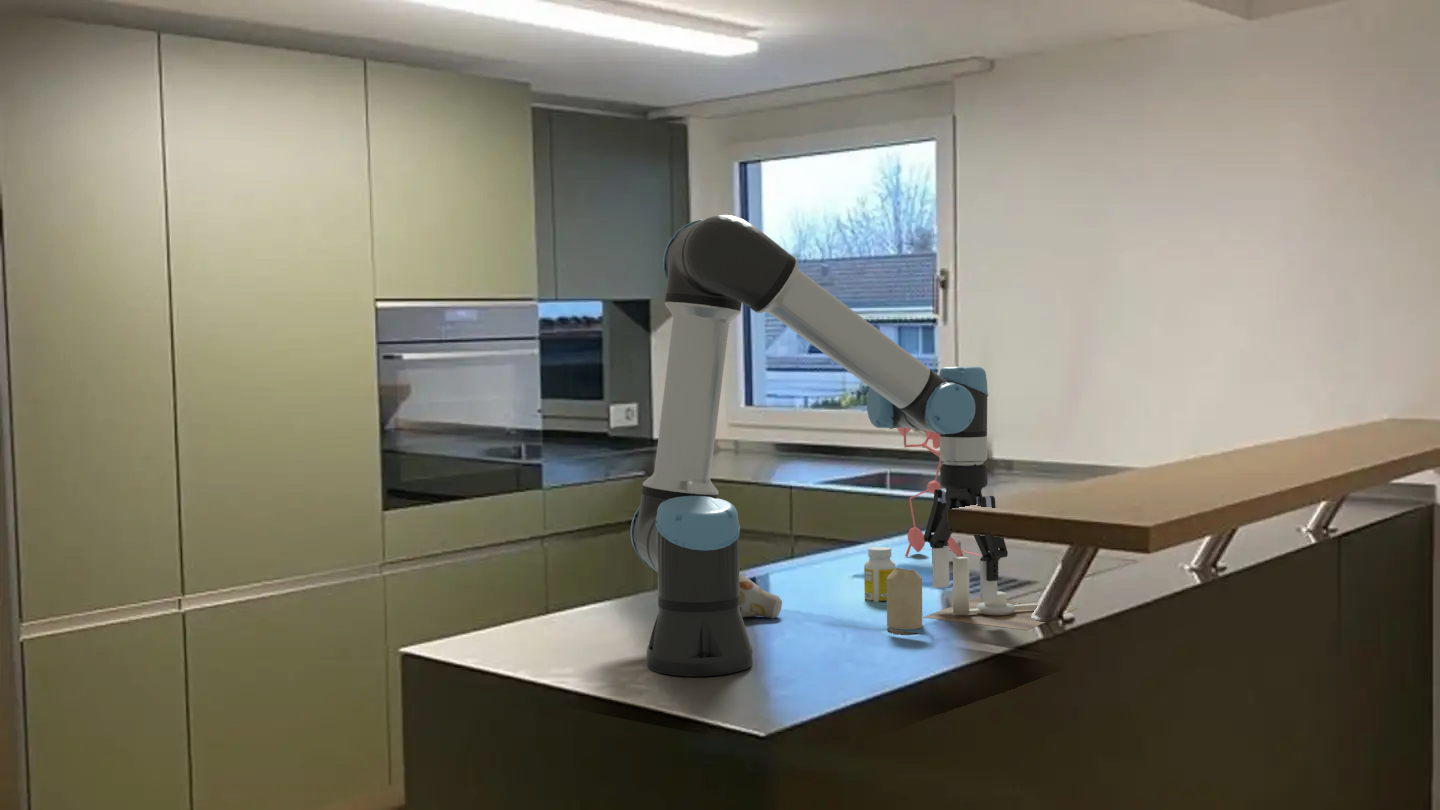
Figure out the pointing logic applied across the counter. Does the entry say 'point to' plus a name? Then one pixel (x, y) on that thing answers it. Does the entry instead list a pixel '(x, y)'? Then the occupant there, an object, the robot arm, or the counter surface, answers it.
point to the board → (992, 617)
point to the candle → (904, 601)
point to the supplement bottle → (877, 573)
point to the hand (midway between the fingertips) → (964, 594)
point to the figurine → (914, 533)
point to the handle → (984, 608)
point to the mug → (757, 600)
